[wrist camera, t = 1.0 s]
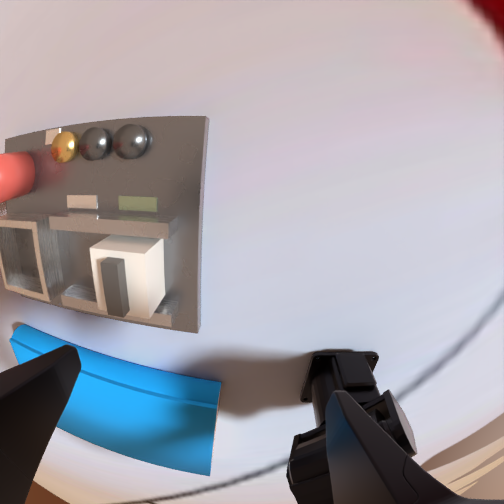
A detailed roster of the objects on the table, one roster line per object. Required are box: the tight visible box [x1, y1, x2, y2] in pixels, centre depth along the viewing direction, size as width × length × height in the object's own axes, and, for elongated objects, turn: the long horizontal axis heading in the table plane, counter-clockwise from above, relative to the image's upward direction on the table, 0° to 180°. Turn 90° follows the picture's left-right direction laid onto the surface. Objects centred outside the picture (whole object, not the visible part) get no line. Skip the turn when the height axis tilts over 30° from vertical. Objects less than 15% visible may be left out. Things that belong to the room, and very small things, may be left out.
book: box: [9, 324, 221, 476], centre depth 26 cm, size 17×4×25 cm
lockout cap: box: [0, 151, 35, 203], centre depth 15 cm, size 4×4×5 cm
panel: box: [0, 116, 209, 333], centre depth 18 cm, size 16×20×4 cm
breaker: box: [90, 234, 165, 319], centre depth 17 cm, size 4×4×4 cm
